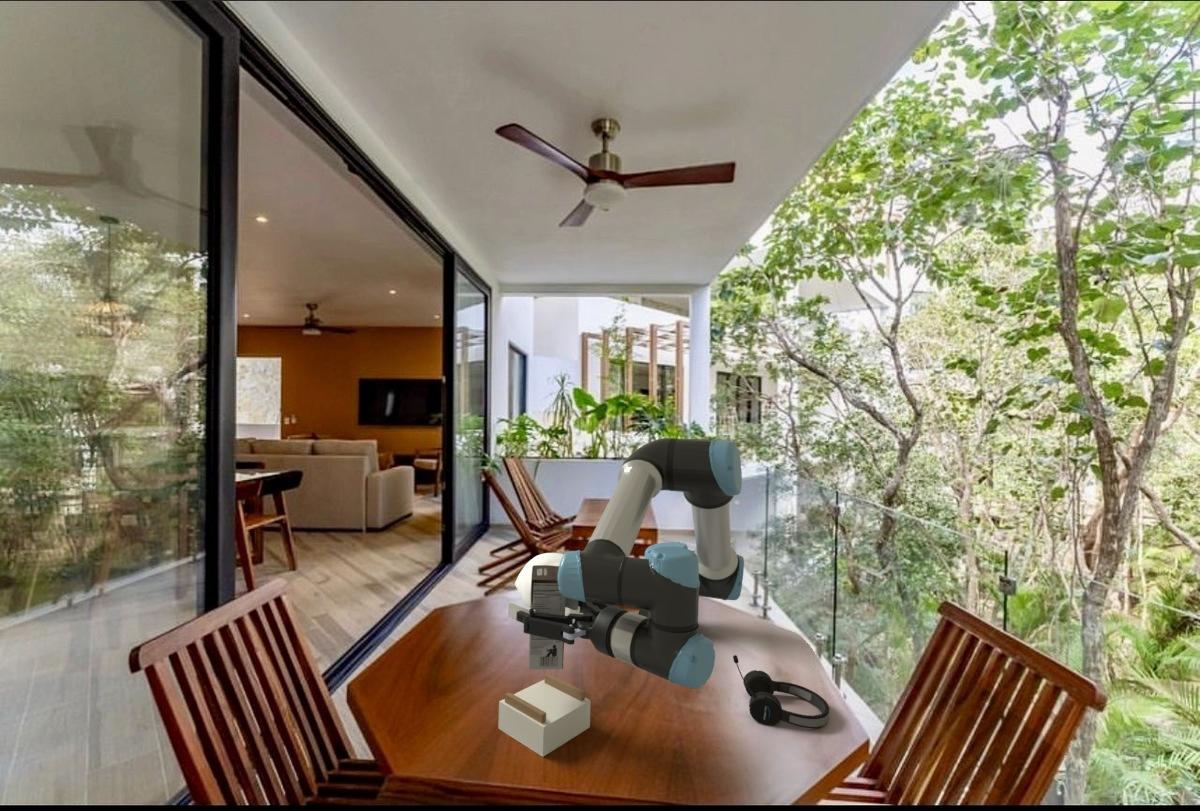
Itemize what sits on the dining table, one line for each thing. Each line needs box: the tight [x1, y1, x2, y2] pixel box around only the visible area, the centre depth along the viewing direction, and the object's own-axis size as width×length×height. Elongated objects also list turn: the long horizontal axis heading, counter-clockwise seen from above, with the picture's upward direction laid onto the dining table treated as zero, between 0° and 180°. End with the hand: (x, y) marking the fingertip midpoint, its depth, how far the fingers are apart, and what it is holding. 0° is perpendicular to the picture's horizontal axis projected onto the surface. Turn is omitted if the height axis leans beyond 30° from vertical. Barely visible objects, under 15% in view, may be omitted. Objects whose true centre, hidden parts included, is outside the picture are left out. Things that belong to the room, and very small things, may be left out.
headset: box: [732, 654, 830, 730], centre depth 109 cm, size 13×9×19 cm
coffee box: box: [528, 565, 566, 670], centre depth 100 cm, size 9×6×16 cm
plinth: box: [497, 673, 591, 758], centre depth 100 cm, size 12×12×6 cm
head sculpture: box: [514, 552, 583, 624], centre depth 154 cm, size 18×20×25 cm
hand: (532, 601), depth 103 cm, fingers closed on coffee box, 10 cm apart
